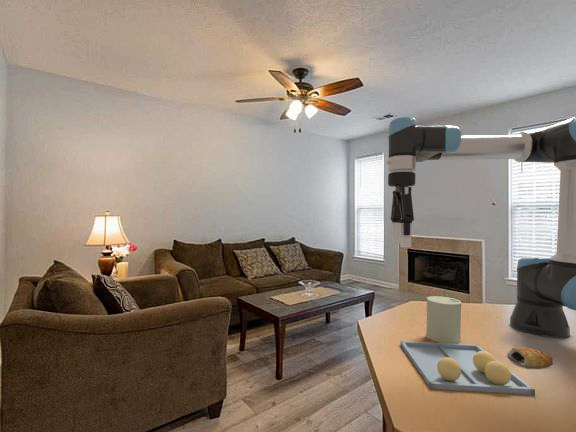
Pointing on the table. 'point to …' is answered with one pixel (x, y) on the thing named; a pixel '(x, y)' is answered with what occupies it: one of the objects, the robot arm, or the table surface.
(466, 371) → the sorting tray
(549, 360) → the pastry
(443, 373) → the ball far
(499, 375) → the ball
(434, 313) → the can
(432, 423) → the table surface
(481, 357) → the ball
